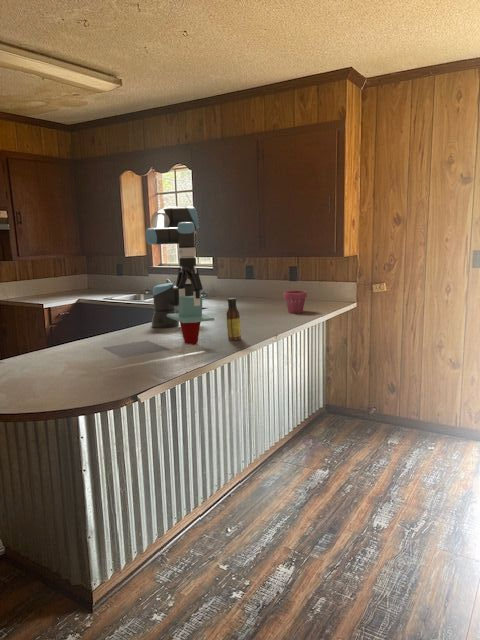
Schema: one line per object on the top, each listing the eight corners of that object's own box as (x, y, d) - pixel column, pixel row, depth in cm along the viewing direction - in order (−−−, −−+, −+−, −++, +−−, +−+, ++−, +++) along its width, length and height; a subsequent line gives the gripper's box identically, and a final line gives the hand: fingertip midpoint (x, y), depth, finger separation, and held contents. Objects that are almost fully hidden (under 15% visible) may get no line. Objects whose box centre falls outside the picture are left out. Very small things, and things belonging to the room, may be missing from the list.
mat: (102, 349, 221) (102, 347, 221) (147, 342, 234) (147, 340, 234) (123, 359, 202) (122, 357, 202) (170, 351, 215) (170, 349, 215)
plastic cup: (199, 346, 221) (198, 320, 219) (176, 346, 223) (175, 320, 221) (205, 341, 232) (204, 316, 229) (184, 341, 234) (182, 316, 232)
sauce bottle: (242, 338, 236) (241, 297, 232) (238, 341, 230) (237, 299, 226) (230, 337, 238) (228, 297, 234) (225, 340, 232) (224, 299, 229)
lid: (166, 316, 227) (167, 294, 225) (196, 314, 236) (197, 293, 234) (183, 323, 214) (184, 300, 212) (214, 320, 224) (215, 298, 222)
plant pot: (282, 310, 314) (281, 290, 311) (303, 309, 315) (303, 289, 313) (286, 314, 300) (286, 293, 297) (309, 313, 301) (309, 292, 299)
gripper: (167, 257, 228) (169, 302, 232) (194, 258, 208) (196, 307, 212) (181, 256, 232) (183, 300, 236) (209, 257, 212) (211, 306, 216)
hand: (189, 304), depth 224 cm, fingers open, 13 cm apart
